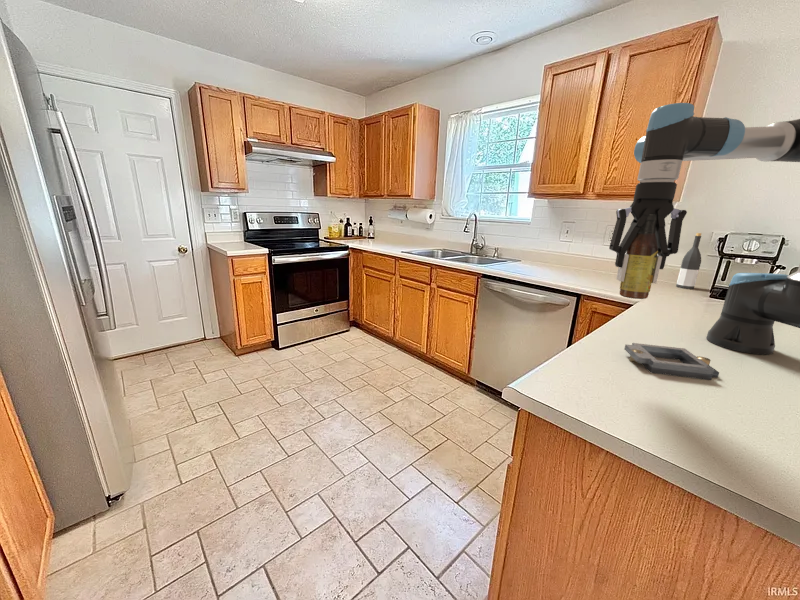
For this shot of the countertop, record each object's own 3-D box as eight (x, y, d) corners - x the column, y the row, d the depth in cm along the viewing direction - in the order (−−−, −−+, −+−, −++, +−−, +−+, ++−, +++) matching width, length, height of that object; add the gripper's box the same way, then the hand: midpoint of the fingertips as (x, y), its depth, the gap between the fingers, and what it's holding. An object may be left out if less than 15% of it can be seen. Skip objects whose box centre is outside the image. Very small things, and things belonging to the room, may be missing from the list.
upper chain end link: (681, 358, 95) (684, 348, 94) (710, 380, 82) (714, 369, 82) (620, 351, 98) (622, 341, 97) (639, 371, 86) (642, 360, 85)
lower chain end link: (692, 359, 94) (695, 349, 93) (722, 381, 82) (726, 370, 81) (630, 352, 98) (632, 342, 97) (650, 372, 85) (653, 362, 85)
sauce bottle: (653, 301, 80) (673, 215, 74) (624, 299, 81) (641, 214, 76) (640, 294, 86) (657, 214, 81) (613, 292, 87) (628, 213, 82)
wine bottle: (681, 288, 185) (695, 233, 177) (672, 285, 192) (685, 232, 184) (697, 289, 183) (713, 234, 175) (688, 286, 191) (702, 232, 183)
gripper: (615, 180, 75) (597, 281, 81) (717, 180, 70) (689, 287, 77) (604, 183, 82) (588, 275, 88) (696, 183, 78) (672, 280, 84)
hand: (635, 281), depth 82 cm, fingers closed on sauce bottle, 6 cm apart
